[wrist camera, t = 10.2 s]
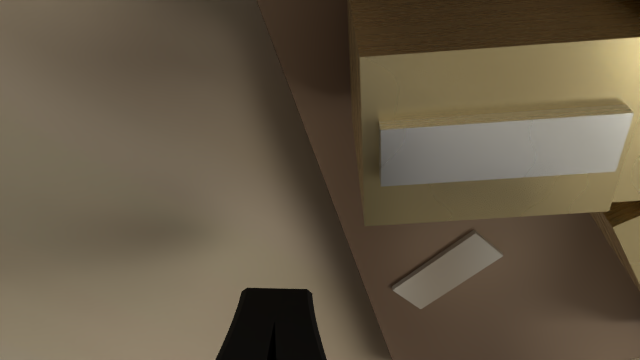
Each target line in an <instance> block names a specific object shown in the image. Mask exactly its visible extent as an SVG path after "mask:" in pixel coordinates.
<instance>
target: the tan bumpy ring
mask: <svg viewBox="0 0 640 360" xmlns="http://www.w3.org/2000/svg"><path fill="white" fill-rule="evenodd" d="M347 10H348V34H349V59H350V83H351V107H352V124H353V132H354V141H355V149H356V158H357V166H358V174H359V183H360V191H361V200H362V208H363V217H364V225H365V226H378V225H394V224H410V223H426V222H443V221H459V220H475V219H491V218H508V217H524V216H540V215H556V214H573V213H590V214H591V216H592V218H593V219H594V221H595V222H596V224H597V225H598V227H599V229H600V230H601V232H602V233H603V235H604V236H605V238H606V240H607V241H608V243H609V244H610V246H611V247H612V249H613V251H614V252H615V254H616V255H617V257H618V258H619V260H620V262H621V263H622V265H623V266H624V268H625V269H626V271H627V272H628V274H629V276H630V277H631V279H632V280H633V282H634V283H635V285H636V287H637V288H638V290H639V291H640V0H347Z"/></svg>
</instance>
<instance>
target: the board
mask: <svg viewBox="0 0 640 360" xmlns="http://www.w3.org/2000/svg"><path fill="white" fill-rule="evenodd" d="M257 3H258V6H259V8H260V11H261V14H262V16H263V19H264V21H265V24H266V27H267V29H268V32H269V35H270V37H271V40H272V43H273V45H274V48H275V51H276V53H277V56H278V59H279V61H280V64H281V67H282V69H283V72H284V74H285V77H286V80H287V82H288V85H289V88H290V90H291V93H292V96H293V98H294V101H295V104H296V106H297V109H298V112H299V114H300V117H301V120H302V122H303V125H304V127H305V130H306V133H307V135H308V138H309V141H310V143H311V146H312V149H313V151H314V154H315V157H316V159H317V162H318V165H319V167H320V170H321V173H322V175H323V178H324V180H325V183H326V186H327V188H328V191H329V194H330V196H331V199H332V202H333V204H334V207H335V210H336V212H337V215H338V218H339V220H340V223H341V226H342V228H343V231H344V233H345V236H346V239H347V241H348V244H349V247H350V249H351V252H352V255H353V257H354V260H355V263H356V265H357V268H358V271H359V273H360V276H361V279H362V281H363V284H364V286H365V289H366V292H367V294H368V297H369V300H370V302H371V305H372V308H373V310H374V313H375V316H376V318H377V321H378V324H379V326H380V329H381V331H382V334H383V337H384V339H385V342H386V345H387V347H388V350H389V353H390V355H391V358H392V360H630V359H635V358H640V291H639V290H638V288H637V287H636V285H635V283H634V282H633V280H632V279H631V277H630V276H629V274H628V272H627V271H626V269H625V268H624V266H623V265H622V263H621V262H620V260H619V258H618V257H617V255H616V254H615V252H614V251H613V249H612V247H611V246H610V244H609V243H608V241H607V240H606V238H605V236H604V235H603V233H602V232H601V230H600V229H599V227H598V225H597V224H596V222H595V221H594V219H593V218H592V216H591V214H590V213H573V214H556V215H540V216H524V217H508V218H491V219H475V220H459V221H443V222H426V223H410V224H394V225H378V226H365V225H364V217H363V208H362V200H361V191H360V183H359V174H358V166H357V158H356V149H355V141H354V132H353V124H352V107H351V83H350V59H349V34H348V10H347V0H257Z"/></svg>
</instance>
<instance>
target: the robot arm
mask: <svg viewBox="0 0 640 360" xmlns="http://www.w3.org/2000/svg"><path fill="white" fill-rule="evenodd" d="M216 360H327V359H326V356H325V353H324V349H323V346H322V342H321V338H320V335H319V331H318V327H317V322H316V318H315V313H314V306H313V299H312V293H311V292H310V291H309V290H307V289H274V288H246V289H245V290H243V291H242V293H241V296H240V300H239V303H238V307H237V309H236V312H235V315H234V318H233V321H232V323H231V326H230V328H229V331H228V333H227V335H226V338H225V340H224V342H223V345H222V347H221V349H220V351H219V353H218V355H217V357H216Z"/></svg>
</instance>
